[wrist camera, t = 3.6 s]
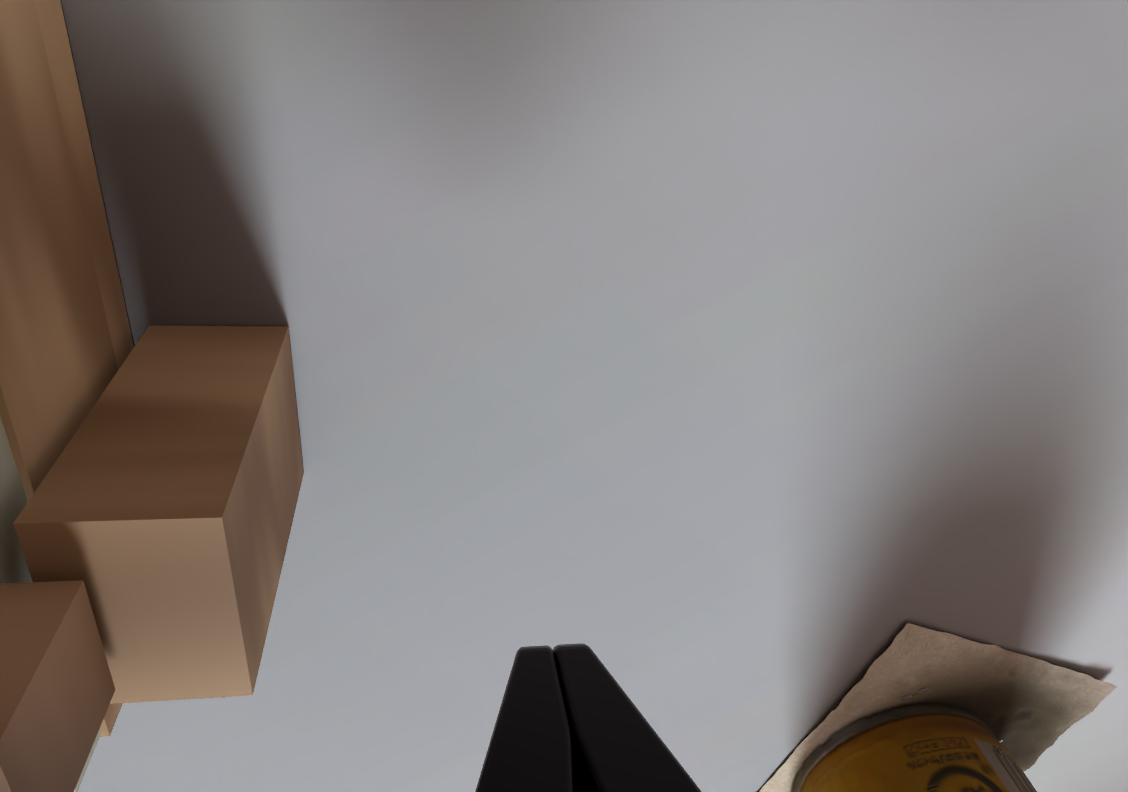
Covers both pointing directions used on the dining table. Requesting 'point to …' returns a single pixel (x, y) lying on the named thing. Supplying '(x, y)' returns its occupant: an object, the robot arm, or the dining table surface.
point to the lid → (3, 554)
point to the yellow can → (941, 721)
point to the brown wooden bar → (49, 685)
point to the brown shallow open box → (131, 413)
